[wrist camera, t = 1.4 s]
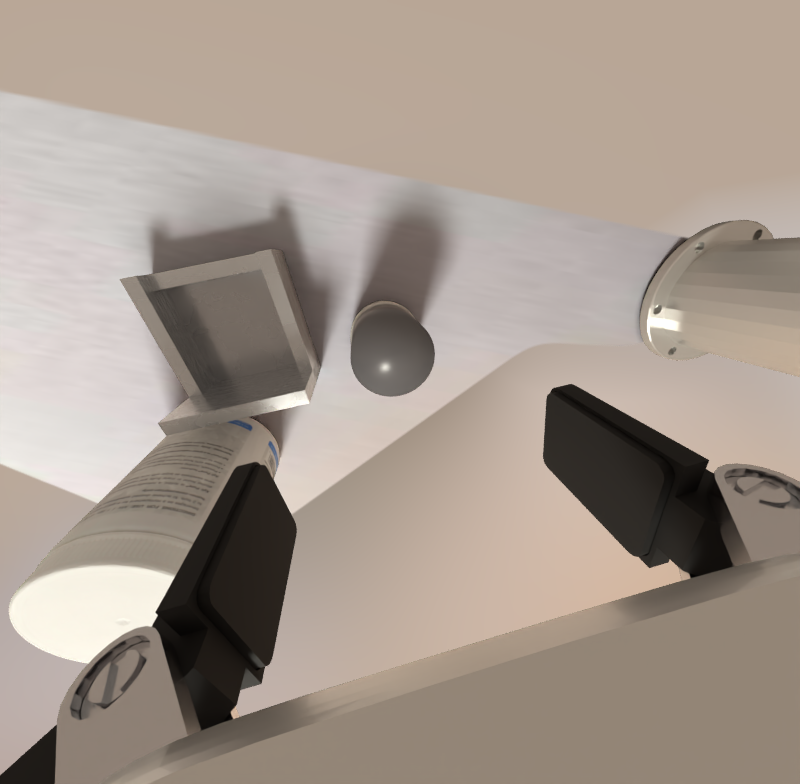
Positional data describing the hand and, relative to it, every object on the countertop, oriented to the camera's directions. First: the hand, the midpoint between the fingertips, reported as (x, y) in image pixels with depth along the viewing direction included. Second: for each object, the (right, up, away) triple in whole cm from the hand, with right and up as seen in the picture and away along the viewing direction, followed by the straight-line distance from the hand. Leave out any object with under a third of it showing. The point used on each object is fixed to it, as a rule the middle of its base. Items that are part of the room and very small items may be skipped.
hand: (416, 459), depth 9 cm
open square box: (-13, +8, +14) cm, 21 cm away
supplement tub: (-17, -3, +18) cm, 25 cm away
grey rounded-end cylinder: (-2, +7, +16) cm, 17 cm away
